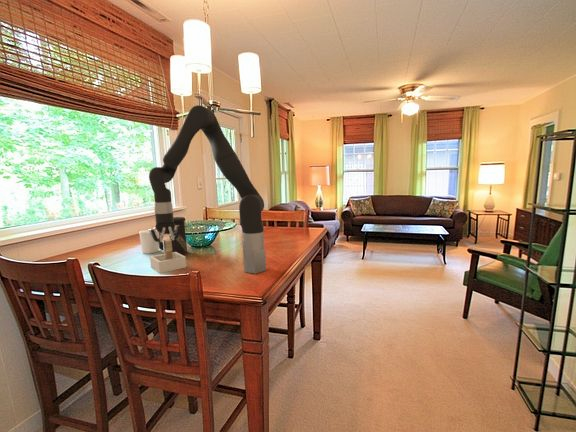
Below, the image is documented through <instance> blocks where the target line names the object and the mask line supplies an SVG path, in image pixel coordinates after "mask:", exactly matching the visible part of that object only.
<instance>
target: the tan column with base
mask: <svg viewBox="0 0 576 432" xmlns="http://www.w3.org/2000/svg"><path fill="white" fill-rule="evenodd" d="M163 248H164V250H163V251H164V254H165V260H168V259H173V254H172V242H171V240H170V238H169V239H167V238H166V239H163Z"/></svg>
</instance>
